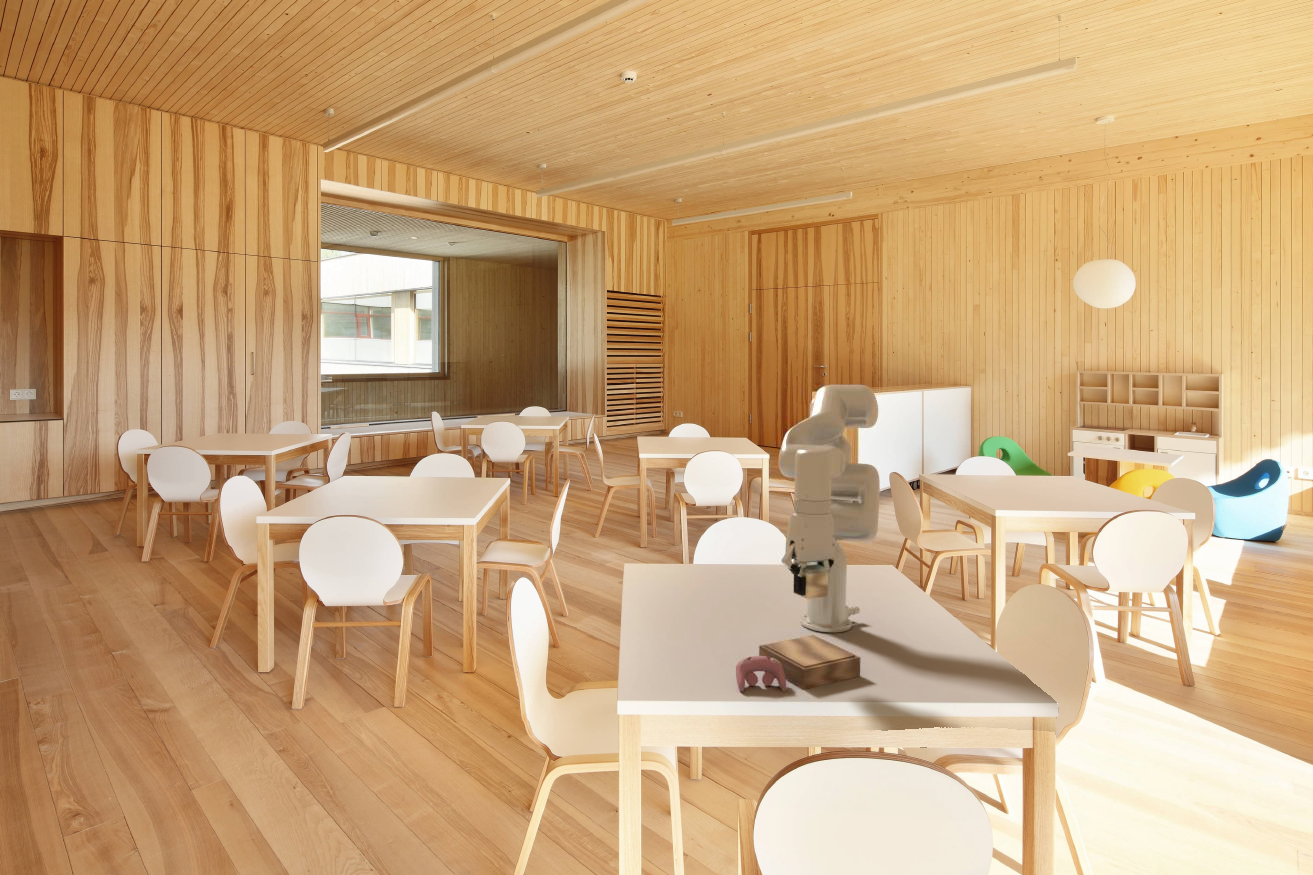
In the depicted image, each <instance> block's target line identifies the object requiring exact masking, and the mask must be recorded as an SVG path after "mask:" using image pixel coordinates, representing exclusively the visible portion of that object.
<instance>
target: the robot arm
mask: <svg viewBox="0 0 1313 875" xmlns="http://www.w3.org/2000/svg"><path fill="white" fill-rule="evenodd" d="M878 404H879V403H878V400H877V396H876V394H875V392H874V390H873V389H872V388H871V387H869V386H867V385H865V384H864V385H863V384H828V385H823V386H822V387H820V388H819V389H818V390H817V391H816V393H815V395H814V398H813V399H812V400H811V402H810V404H809V417H807V418H805V419H803V420H801V421H800V422H798V423H797V424H795V425H793V426H792V427H791V428H790V429H789V430H788V431H787V432H785V435H784V437H783V439H782V443H781V447H780V450H779V454H778V460H777V461H778V465H777V466H778V470H779V471H780V473H781V475H783V476H784V477H786V478H789V479H794V488H793V489H794V491H793V492H794V494H793V495H794V497H793V500H794V501H793V513H790V515H789V520H788V522H787V524H788V525H787V529H786V538H785V553H784V555H783V557H782V559H781V563H782V564H783V565H784V566H785V567H787V569H788V570H789V571H790V573H791V574H792V575H793V591H794V593H797V594H799V595H802V596H804V595H805V590H806V577H804V572H805V568H806V564H807V563H816V564H819V565H822V566H825V567H828V593H827V596H826V597H820V598H814V599H807V598H806V599H807V602H806V603H807V604H806V607H807V609H806V614H803V615H802V616H801V618H800V624H801V625H802V626H803V627H804V628H807V629H809V630H812V631H815V632H820V633H821V632H822V633H842V632H846V631H849V630H851V629H852V624H853V623H852V620H850V617H851V615H853V616H855V615H859V614H860V612H861V611H860V610H861V609H860V608H859V606H851V607H849V606H848V605H847V574H848V572H847V571H848V558H847V554H846V553H845V550H844V549H843V547H842V546H841V544H840V543H839V542H840V541H848V542H860V543H868V542H873V540H875V539H876V537H877V533H878V530H879V529H878V527H879V511H880V510H879V509H880V488H881V487H880V483H881V482H880V474H879V471H878V469H877V468H876V467H875V466H874V465H872V464H869V463H855V462H851V461H852V460H851V458H852V446H851V444H850V442H849V441H848V440H847V438H846V437H845V436H844V431H845V428H846V429H847V428H849V429H853V428H854V429H869V428H870V429H871V428H872V427H874V426H875V425H876V423H877V420H878V418H879V405H878ZM835 500H836V501H835ZM838 500H843V501H838ZM844 501H845V502H844ZM846 501H848V502H846ZM849 501H853V502H849ZM854 501H856V502H854ZM857 501H858V502H857ZM838 541H839V542H838ZM792 560H793V561H792ZM799 564H800V567H799V568H798V566H799ZM794 593H793V594H794ZM797 594H796V595H797ZM799 595H798V596H799ZM802 596H801V597H802Z"/></svg>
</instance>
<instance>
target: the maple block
mask: <svg viewBox="0 0 1313 875" xmlns="http://www.w3.org/2000/svg"><path fill="white" fill-rule="evenodd" d="M799 567H800V564H799V566H798V568H799ZM804 577H806V590H805V595H804V596H802V595H799V594H797V593H794V590H793V594H794V595H796V596H800V597H802V598H805V599H814V598H820V597H826V596H827V593H828V567H825V566H822V565H819V564H816V563H807V564H806V568H805V572H804Z"/></svg>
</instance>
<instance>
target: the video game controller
mask: <svg viewBox="0 0 1313 875" xmlns="http://www.w3.org/2000/svg"><path fill="white" fill-rule="evenodd" d="M755 672H764V674H763V675H762V676H761V683H763V685H764V686H766V687H768V686H771V685H772V684H773V683H774V680H775V679H776V680H777V683H778V686H779V688H780V690H781V692H785V691H786V690H787V680H786V679H785V673H784V670H783V667H782V665H781V663H780V662H779V661H778V660H777V659H774V658H770V657H766V656H759V655H753V656H749V657H745V658H742V659H741V660H740V661H738V662H737V663H736V666H735V678H736V683H737V684H736V685H737V688H738V690H739V691H740V692H741V693H744V690H745V687H746V684H747V685H748V686H750V687H753V686H756V685H757V684H758V683H759V677H758V676H757V674H756V673H755Z"/></svg>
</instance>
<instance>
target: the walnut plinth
mask: <svg viewBox="0 0 1313 875" xmlns="http://www.w3.org/2000/svg"><path fill="white" fill-rule="evenodd" d="M758 649H759V650H758V656H766V657H770V658H774V659H777V660H778V661H779V662H780V663H781V665H782V667H783V670H784V673H785V679H786V681H789V682H790V683H792V684H793V685H795V686H797V687H799V688H801V689H802V690H806V689H810V688H815V687H819V686H823V685H827V684H832V683H836V682H840V681H845V680H848V679H854V678H857V676H858V677H860V676H861V660H862V659H861V656H858V655H857V654H854V653H852V652H850V651H848V650H846V649H845V648H841V647H840V646H837V645H836V644H833V643H831V642H829V641H827V640H824V639H823V638H820V637H819V636H816V635H814V634H813V635H812V634H811V635H808V636H807V635H806V636H802V637H796V638H791V639H788V640H781V641H776V642H771V643H766V644H760V645H759V646H758Z"/></svg>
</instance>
